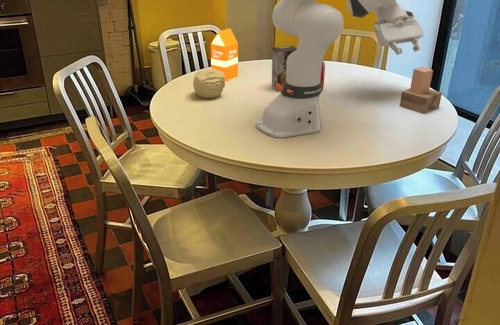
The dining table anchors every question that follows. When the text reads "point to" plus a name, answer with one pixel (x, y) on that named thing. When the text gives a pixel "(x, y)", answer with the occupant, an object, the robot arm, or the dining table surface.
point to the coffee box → (280, 64)
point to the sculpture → (209, 83)
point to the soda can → (322, 74)
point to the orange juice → (225, 54)
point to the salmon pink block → (421, 80)
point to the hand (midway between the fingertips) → (408, 52)
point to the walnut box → (420, 100)
